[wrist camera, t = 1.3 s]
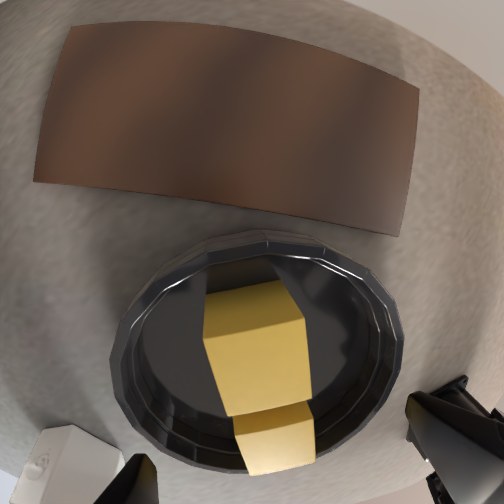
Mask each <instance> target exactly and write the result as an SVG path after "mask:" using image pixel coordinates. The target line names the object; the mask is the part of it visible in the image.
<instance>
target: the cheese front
mask: <svg viewBox="0 0 504 504" xmlns="http://www.w3.org/2000/svg"><path fill="white" fill-rule="evenodd" d="M203 342H204V345H205V349H206V352H207V355H208V359H209V362H210V365H211V368H212V371H213V375H214V378H215V381H216V384H217V387H218V390H219V393H220V396H221V399H222V402H223V405H224V408H225V411H226V413H227V416H234V415H240V414H246V413H251V412H256V411H261V410H266V409H271V408H275V407H280V406H284V405H288V404H292V403H296V402H300V401H304V400H308V399H311V398H312V390H311V377H310V366H309V355H308V345H307V335H306V325H305V318H304V316H303V314H302V313H301V311H300V310H299V308H298V306H297V305H296V303H295V302H294V300H293V298H292V297H291V295H290V294H289V292H288V290H287V289H286V287H285V286H284V284H283V282H282V281H281V280H276V281H271V282H266V283H261V284H257V285H252V286H247V287H242V288H237V289H232V290H227V291H222V292H217V293H211V294H206V297H205V311H204V326H203Z"/></svg>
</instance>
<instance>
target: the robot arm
mask: <svg viewBox="0 0 504 504" xmlns="http://www.w3.org/2000/svg"><path fill="white" fill-rule="evenodd" d="M467 382H468V377H467V376H466V375H464V376H462V377H461V378H459V379H457V380H455V381H454V382H452V383H450V384H448V385H446V386H445V387H443V388H441V389H439V390H437V391H435V392H433V393H431V394H426V393H424V392H422V391H416V392H414V393H412V394H410V395H409V396H408V399H407V404H406V408H405V414H406V417H407V419H408V421H409V423H410V428H409V431H408V435H407V438H406V440H407V441H408V442H412V443H413V444H414V446H415V447H416V448H417V450H418V451H419V453H420V454H421V456H422V457H423V459H424V460H425V461H427V462H428V461H430V463H431V464H432V466H433V468H434V469H435V471H434V472H433V473H432V474H430V475H429V476H427V477H426V480H427V483H428V487H429V490H430V492H431V495H432V497H433V500H434V503H435V504H504V413H503V412H501V411H499V410H498V409H496V408H494V409H493V410H492V411H491V414H490V413H489V412H488V411H487V410H486V409H485V408H484V407H483V406H482V405H481V404H480V403H479V402H478V401H477V400H476V399H475V398H473V397H472V396H471V395H470V394H469V393H468V392H467V391H466V390H465V388H466V385H467ZM93 504H159V498H158V483H157V470H156V467H155V465H154V464H153V462H152V461H151V460H150V458H149V457H148V456H147V455H146V454H134V455H133V456H132V457H131V458H130V460H129V461H128V462H127V463H126V464H125V466H124V467H123V468H122V469H121V471H120V472H119V473H118V474H117V475H116V477H115V478H114V479H113V480H112V481H111V483H110V484H109V485H108V486H107V487H106V489H105V490H104V491H103V492H102V493H101V495H100V496H99V497H98V498H97V499H96V500H95V502H94V503H93Z"/></svg>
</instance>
